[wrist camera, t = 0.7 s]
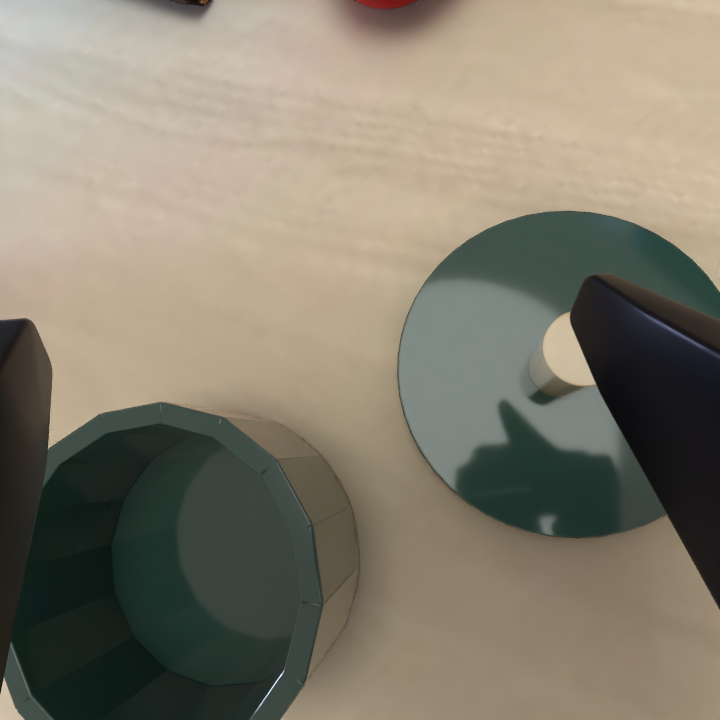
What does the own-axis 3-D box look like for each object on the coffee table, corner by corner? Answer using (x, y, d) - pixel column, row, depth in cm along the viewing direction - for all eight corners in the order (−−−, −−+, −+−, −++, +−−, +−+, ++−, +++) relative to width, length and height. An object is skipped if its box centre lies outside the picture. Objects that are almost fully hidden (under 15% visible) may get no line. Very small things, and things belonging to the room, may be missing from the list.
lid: (809, 420, 21) (930, 411, 16) (512, 595, 22) (527, 644, 17) (596, 164, 24) (634, 82, 19) (346, 329, 26) (312, 296, 20)
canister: (413, 609, 23) (392, 671, 17) (174, 752, 24) (70, 861, 18) (273, 364, 26) (210, 339, 20) (66, 501, 27) (-57, 518, 21)
